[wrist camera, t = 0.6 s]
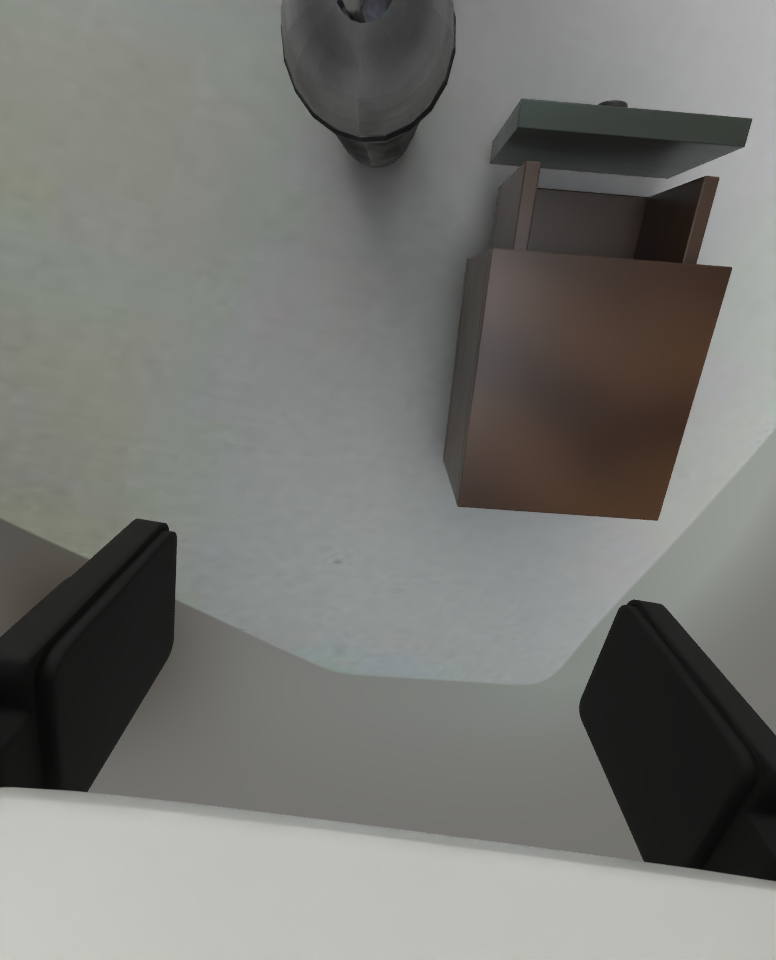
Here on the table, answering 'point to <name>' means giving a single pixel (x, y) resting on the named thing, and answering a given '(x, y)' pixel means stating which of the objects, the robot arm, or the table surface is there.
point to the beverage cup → (369, 67)
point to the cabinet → (575, 380)
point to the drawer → (614, 150)
